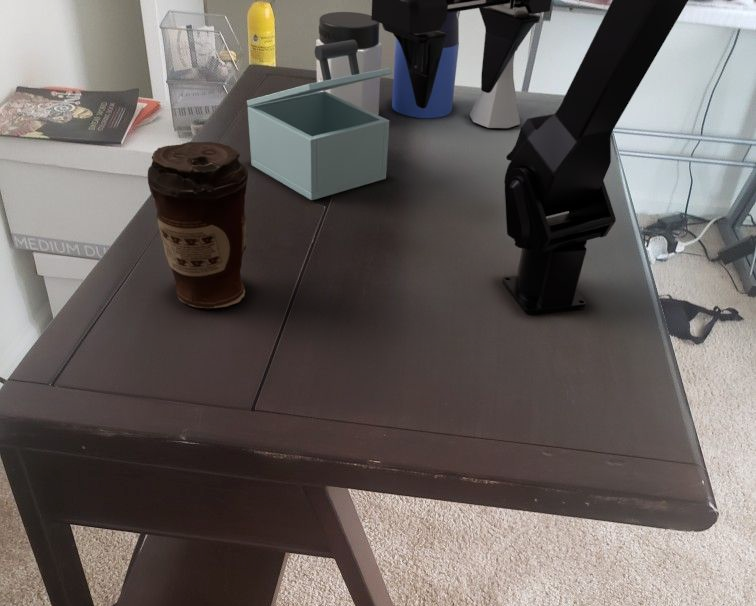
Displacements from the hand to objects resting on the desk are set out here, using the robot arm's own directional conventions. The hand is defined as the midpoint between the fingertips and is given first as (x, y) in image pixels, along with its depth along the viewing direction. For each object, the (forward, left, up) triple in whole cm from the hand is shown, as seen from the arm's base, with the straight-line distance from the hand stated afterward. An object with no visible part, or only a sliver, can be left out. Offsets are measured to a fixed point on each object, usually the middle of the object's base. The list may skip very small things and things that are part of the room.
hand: (454, 99), depth 75 cm
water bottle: (+38, -10, -13) cm, 41 cm away
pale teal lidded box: (+16, +11, -13) cm, 23 cm away
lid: (+16, +11, -4) cm, 20 cm away
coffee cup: (-11, +27, -13) cm, 32 cm away
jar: (+36, +2, -13) cm, 38 cm away
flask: (+31, -19, -13) cm, 39 cm away
